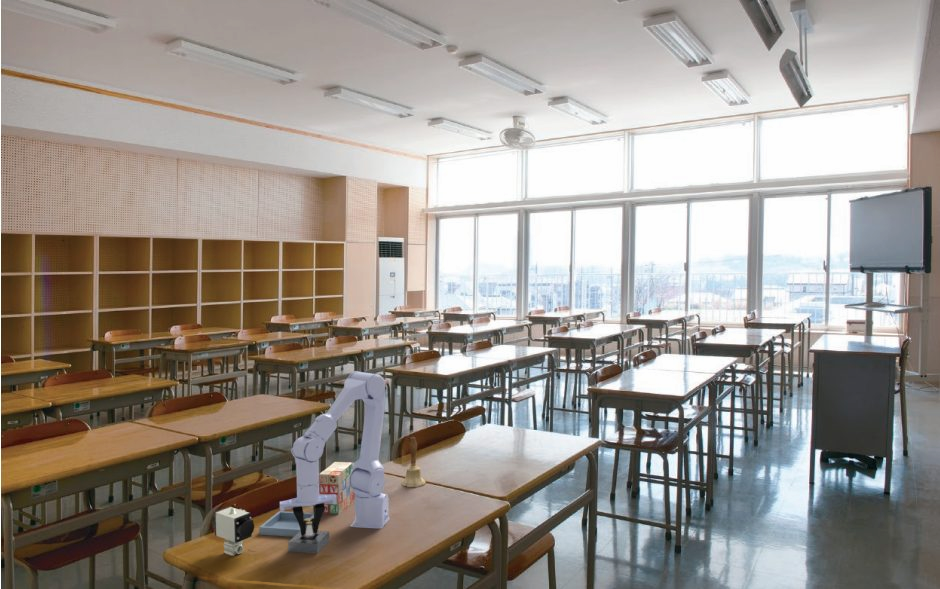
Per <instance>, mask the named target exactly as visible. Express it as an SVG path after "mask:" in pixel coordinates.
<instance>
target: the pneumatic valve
mask: <svg viewBox="0 0 940 589" xmlns="http://www.w3.org/2000/svg"><path fill="white" fill-rule="evenodd" d="M211 525H212V527H213V528H214V535H215V536H217V537H219V538H221V539H224V542H223V548H224V550H223V553H224V554H226V555H229V556H236V555H240V554H241V553H243V552H244V545H243V543H244V540H247V539H249V538H251V537H252V536H253V535H252V534H253V533H254V531H255V523H254V519H252V513H251V512H247V511H246V510H245V509H242V508H239V509H238V508H234V507H232V506H228V507H224V508H221V509H219V510H217V511H214V515H213V517H212V519H211Z"/></svg>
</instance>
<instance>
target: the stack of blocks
mask: <svg viewBox="0 0 940 589" xmlns="http://www.w3.org/2000/svg"><path fill="white" fill-rule="evenodd" d="M354 463H355V462H350V461H349V462H345V461H334V462H333V463H331V464H330V465H329V466H328V467H327V468H325V469H324V470H322V471H321V472H320V473H319V495H333V494H335V495H336V501H337V503H336V504H332V503H330V504H324V506H325V510H324V513H323V514H333V515H334V514H335V515H339V514H340V513H341V512H342V511H344V510H345V509H346V508H347V507H348V506H349V505H351V503H352V502H351V501H352V500H353V499H354V498H355V493H353V488H351V487H350V485H349V476H350V474H351V472H352V469H353V464H354ZM354 500H355V499H354ZM354 500H353V501H354ZM350 502H351V503H350Z"/></svg>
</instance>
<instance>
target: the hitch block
mask: <svg viewBox="0 0 940 589" xmlns="http://www.w3.org/2000/svg"><path fill="white" fill-rule="evenodd" d="M314 535H315V539H314V540H304V535H303V536H301V531H300V532H298V533H297V534H296V535H295V536H294V537H292V538H291V539H290V540H289V541H288V542H287V543H288V548H287V549H288V552H291V553H304V554H319V553H320V551H321V550H322V549H324V547H325V546H326V545H327V544H328V543H329V542H330V531H326V530H318V532H317V533H316V534H315V533H314Z"/></svg>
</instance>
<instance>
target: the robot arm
mask: <svg viewBox="0 0 940 589" xmlns="http://www.w3.org/2000/svg"><path fill="white" fill-rule="evenodd" d="M343 383H344V386H343V388H342V390H341V391H340V393H339V394H338V396H337V397H336V399H334V402H333V403H332V404H331V406H330V407H329V409H328V411H327V412H326V413H323V414H321V413H320V415H318V416H316V417H315V419H314V422H313V423H312V425H311V426H310V427H309V428H308V430H307V431H305V433H304V434H303V435H302V436H300V437H298V438H297V439H295V441H294V442H293V445H292V448H291V449H290V452H291V453H290V454H292V456H293V457H294V463H295V465H296V468H295V469H296V497H295V498H291V499H287V500H282V501H281V500H280V501H279V511H286V510H291V509H292V512H293V513H294V515H295V517H296V519H297V521H298V523H299V526H300V531H301V536H303V535H304V525H303V516H304V513H305V512H304V508H308V507H313V513H314V533H315V534H316V533H317V532H318V531H319V526H320V522H321V520H322V517H323V514H325V513H324V510H325V506H324V504H330V503H332V504H336V503H337V501H336V495H335V494H333V495H320V493H319V484H320V483H319V474H320V473H319V470H320V469H319V465H320V464H319V459H320V458H321V457H322V456H323V453H324V448H325V445H326V442H327V441H328V440H329V439H330V437H331V436H332V434H333V433H334V432H335V431H336V429H337V427H338V424H337V423H338V422H337V421H338V420H339V419H340V418H341V416H342V415H343V414H344V413H345V412H346V411H347V410H348V408H349V407H350V406H351V405H352V404H353V402H355V401H357V400H362V401H363V403H364V404H365V405H366V406H365V411H364V412H365V413H364V419H363V420H364V421H363V427H362V428H363V429H362V437H361V444H360V452H359V458H358V459H357V460H356V461H354V462H353V463H354V464H353V469H352V472H351V474H350V476H349V485H350V487H351V488H353V493H355V499H354V521H353V522H352V523H351V525H349V527H352V528H365V529H382V528H384V526H385V525H386V524H387V522H388V521H390V510H389V508H390V507H389V506H390V505H389V504H390V503H389V501H390V500H389V495H388V494H386V493H383V491H384V488H385V486H386V479H385V478H386V477H385V468H384V466H383V465H382V463H381V461H380V460H379V459H380V451H381V443H382V442H381V441H382V434H383V428H384V426H383V425H384V419H385V412H386V410H385V409H386V404H387V403H386V385H387V381H386V380H385V379H384V378H383V377H382V375H381V374H379V373H371V372H361V371H358V370H355V371H352V372H350V374H349V375H348V377H347V378H346V379H345V380H344V382H343Z"/></svg>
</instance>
